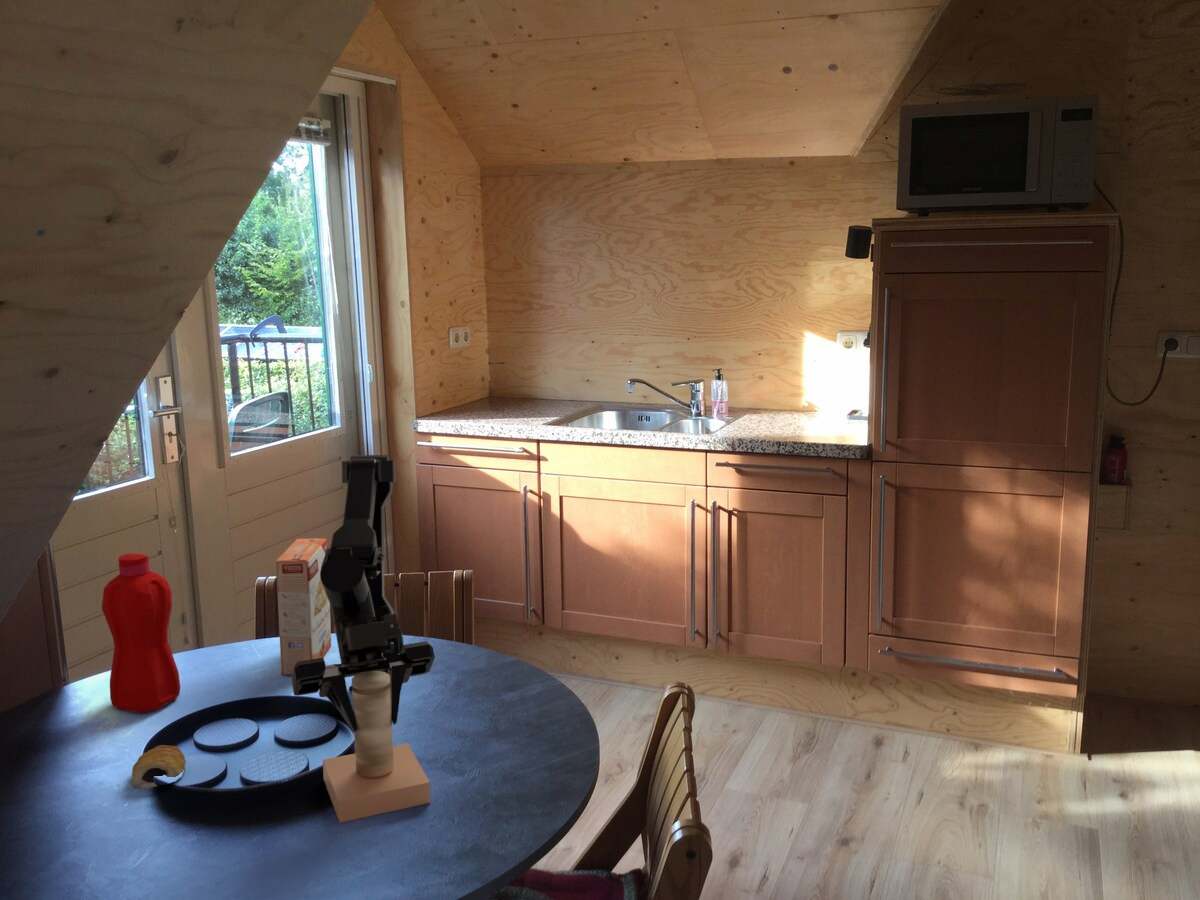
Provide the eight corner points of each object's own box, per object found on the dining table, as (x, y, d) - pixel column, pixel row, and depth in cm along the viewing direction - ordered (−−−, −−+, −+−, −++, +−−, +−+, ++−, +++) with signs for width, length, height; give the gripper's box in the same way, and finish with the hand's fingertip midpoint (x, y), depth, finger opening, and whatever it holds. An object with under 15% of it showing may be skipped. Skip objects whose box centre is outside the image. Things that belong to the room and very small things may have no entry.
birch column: (347, 772, 140) (343, 682, 138) (371, 755, 145) (367, 668, 142) (378, 780, 138) (374, 689, 136) (401, 763, 143) (398, 675, 140)
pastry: (142, 759, 151) (140, 735, 150) (192, 755, 153) (190, 731, 152) (129, 792, 142) (127, 766, 141) (182, 787, 144) (180, 761, 143)
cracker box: (315, 676, 179) (309, 560, 175) (280, 676, 179) (272, 560, 175) (334, 645, 193) (328, 536, 189) (301, 645, 193) (295, 536, 189)
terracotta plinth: (339, 822, 134) (338, 801, 134) (323, 779, 145) (322, 759, 145) (430, 802, 139) (429, 782, 139) (408, 762, 150) (407, 743, 149)
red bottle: (197, 690, 174) (185, 546, 169) (148, 718, 164) (134, 566, 159) (152, 682, 177) (140, 541, 172) (102, 709, 167) (87, 559, 162)
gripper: (289, 605, 137) (307, 718, 129) (429, 586, 144) (453, 692, 136) (285, 640, 145) (301, 748, 138) (416, 621, 153) (439, 722, 145)
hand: (375, 727), depth 139 cm, fingers closed on birch column, 5 cm apart
